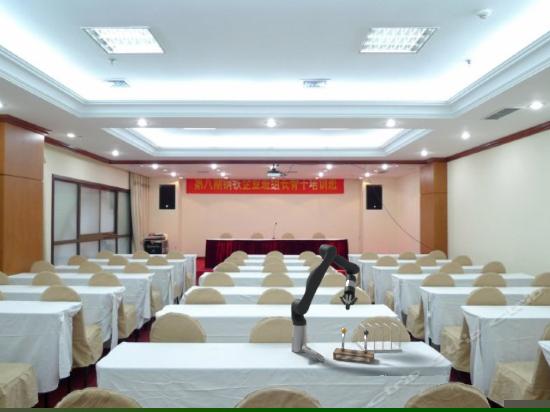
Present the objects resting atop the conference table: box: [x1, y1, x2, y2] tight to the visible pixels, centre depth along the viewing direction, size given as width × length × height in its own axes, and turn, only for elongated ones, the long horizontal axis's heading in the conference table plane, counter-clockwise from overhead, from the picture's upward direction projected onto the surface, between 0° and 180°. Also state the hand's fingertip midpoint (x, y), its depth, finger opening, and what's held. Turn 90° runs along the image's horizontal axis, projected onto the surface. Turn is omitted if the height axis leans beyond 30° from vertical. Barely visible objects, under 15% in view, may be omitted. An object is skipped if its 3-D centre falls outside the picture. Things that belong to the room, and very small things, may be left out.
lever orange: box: [341, 327, 347, 351], centre depth 259 cm, size 3×3×14 cm
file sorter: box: [356, 322, 403, 353], centre depth 275 cm, size 25×17×16 cm
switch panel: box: [332, 347, 375, 365], centre depth 253 cm, size 24×10×5 cm, turn 71°
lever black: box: [363, 329, 370, 353], centre depth 254 cm, size 3×3×14 cm
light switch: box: [302, 344, 325, 363], centre depth 252 cm, size 8×6×14 cm
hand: (347, 309), depth 276 cm, fingers closed
